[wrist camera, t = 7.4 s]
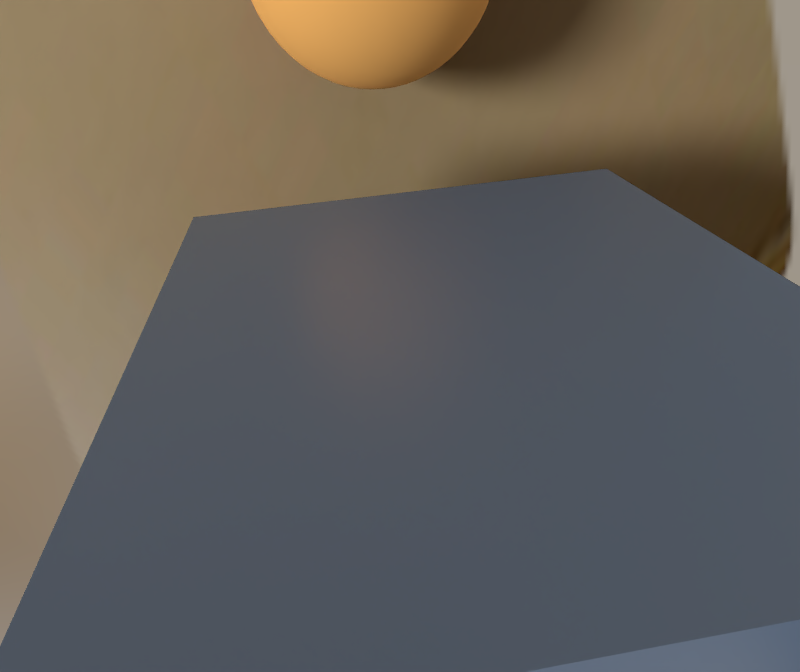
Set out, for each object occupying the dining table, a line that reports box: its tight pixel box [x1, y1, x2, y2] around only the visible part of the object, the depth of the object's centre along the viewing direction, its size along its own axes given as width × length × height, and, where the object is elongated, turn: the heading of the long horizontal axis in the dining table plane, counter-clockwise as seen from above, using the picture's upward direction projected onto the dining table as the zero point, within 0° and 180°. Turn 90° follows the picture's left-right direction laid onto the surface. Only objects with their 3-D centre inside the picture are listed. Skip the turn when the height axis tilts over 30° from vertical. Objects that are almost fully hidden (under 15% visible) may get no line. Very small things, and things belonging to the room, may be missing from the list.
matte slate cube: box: [0, 169, 800, 672], centre depth 9 cm, size 8×8×9 cm
